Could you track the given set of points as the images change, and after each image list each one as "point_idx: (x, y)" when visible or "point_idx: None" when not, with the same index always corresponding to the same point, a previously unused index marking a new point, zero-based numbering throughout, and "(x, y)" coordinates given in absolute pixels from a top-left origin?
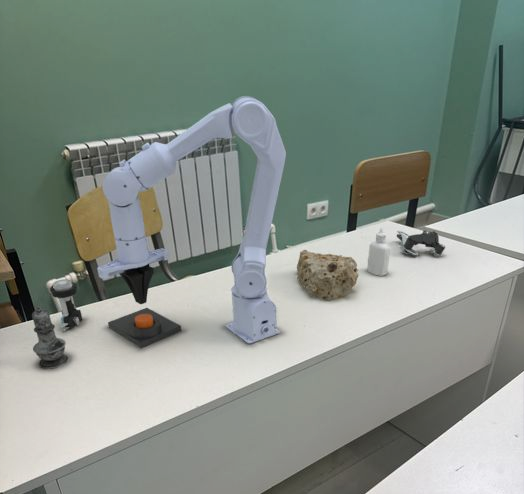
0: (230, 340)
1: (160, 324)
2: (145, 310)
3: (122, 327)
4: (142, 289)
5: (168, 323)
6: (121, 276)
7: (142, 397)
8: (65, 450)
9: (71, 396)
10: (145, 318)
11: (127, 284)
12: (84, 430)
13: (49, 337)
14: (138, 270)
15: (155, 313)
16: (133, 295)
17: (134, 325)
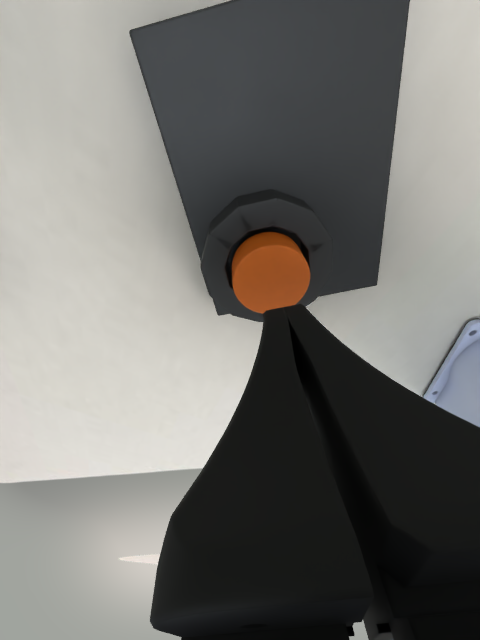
0: (413, 370)
1: (313, 298)
2: (378, 6)
3: (192, 164)
4: (313, 419)
5: (359, 246)
6: (198, 477)
7: (167, 434)
8: (47, 468)
9: (32, 391)
10: (273, 295)
11: (243, 397)
12: (70, 453)
13: None
14: (374, 609)
15: (388, 105)
16: (263, 333)
17: (228, 256)
